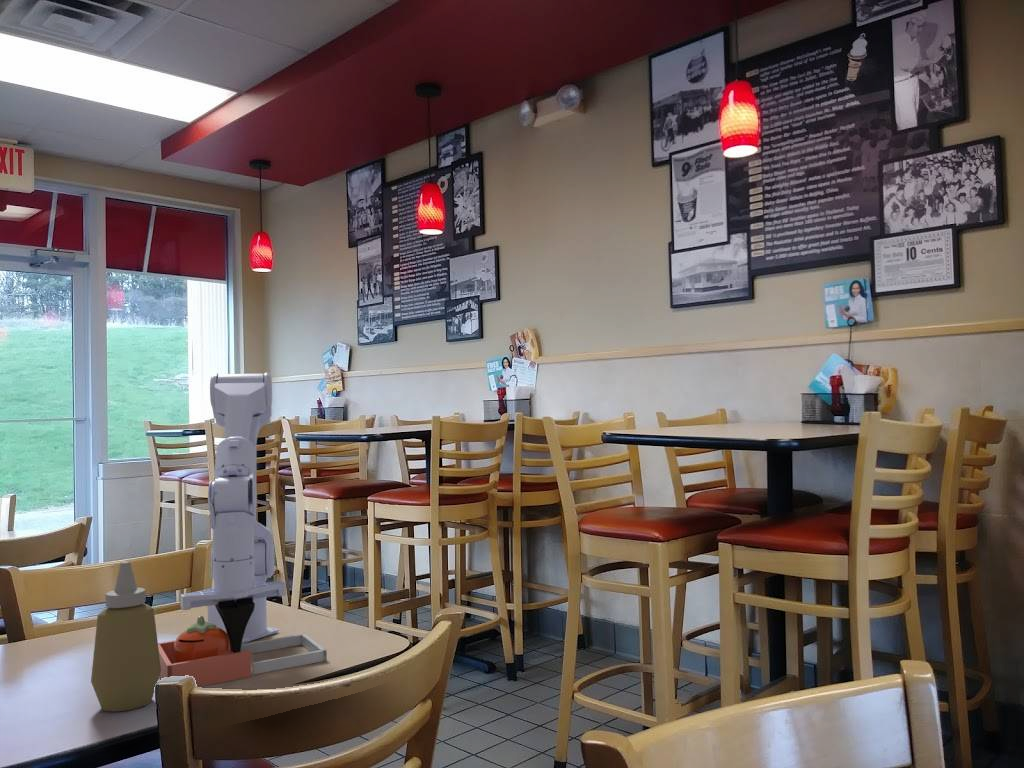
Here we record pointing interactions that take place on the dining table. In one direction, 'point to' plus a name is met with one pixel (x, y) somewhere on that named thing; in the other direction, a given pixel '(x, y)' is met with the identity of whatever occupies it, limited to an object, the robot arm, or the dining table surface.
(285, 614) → the dining table surface
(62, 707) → the dining table surface
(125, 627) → the squeeze bottle
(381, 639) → the dining table surface
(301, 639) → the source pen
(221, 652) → the tomato
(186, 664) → the bin
